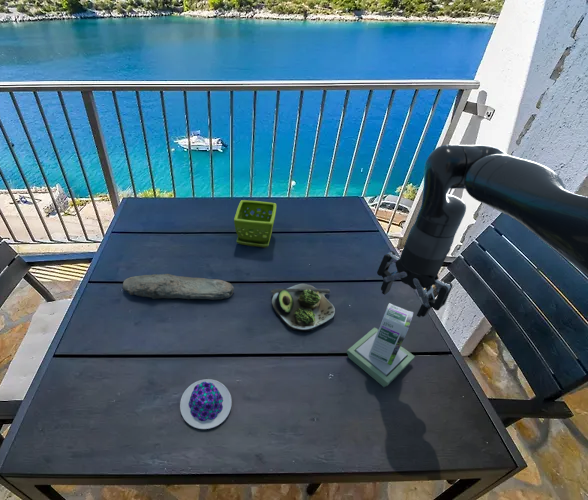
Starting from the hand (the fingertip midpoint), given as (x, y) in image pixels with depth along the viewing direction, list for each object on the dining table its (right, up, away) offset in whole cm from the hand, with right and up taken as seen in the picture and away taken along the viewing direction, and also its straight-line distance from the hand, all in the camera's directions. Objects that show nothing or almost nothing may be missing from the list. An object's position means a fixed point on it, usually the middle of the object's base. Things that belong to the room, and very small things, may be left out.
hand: (402, 303), depth 78 cm
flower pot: (-30, +16, +55) cm, 64 cm away
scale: (0, -17, +13) cm, 22 cm away
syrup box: (0, -14, +11) cm, 18 cm away
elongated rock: (-56, -1, +33) cm, 65 cm away
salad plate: (-18, -6, +27) cm, 33 cm away
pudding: (-44, -24, +4) cm, 51 cm away
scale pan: (0, -15, +12) cm, 20 cm away
